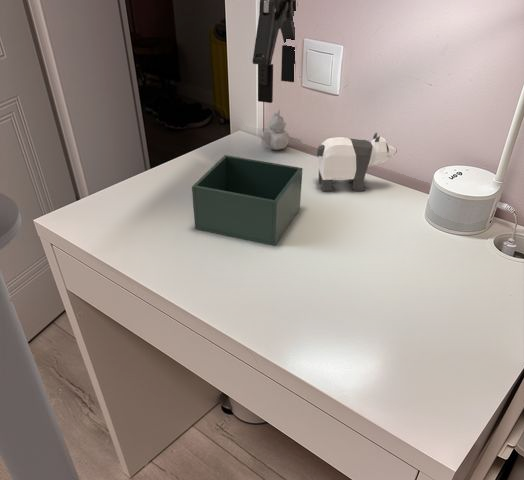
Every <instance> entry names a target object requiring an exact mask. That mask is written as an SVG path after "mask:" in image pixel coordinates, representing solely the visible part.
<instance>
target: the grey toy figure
mask: <svg viewBox="0 0 524 480" xmlns="http://www.w3.org/2000/svg"><path fill="white" fill-rule="evenodd" d="M286 125H287V122H285V120H284V117H283V116H281V115H280V110H278V111H277V112H275V113H274V114H273V115H272V116H271V118H270V119H269V124H268V128H269V129H267V130H266V131H261V132H260V133H259V137H260V139H261V140H260V145H262V146H268V147H269V148H270V149H272V150H274V151H277V150H278V151H279V150H283V149H285V148H286V147H287V146H288V144H289V142H290V134H289V133H288V132H287V131H286Z"/></svg>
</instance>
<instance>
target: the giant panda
mask: <svg viewBox="0 0 524 480" xmlns="http://www.w3.org/2000/svg"><path fill="white" fill-rule="evenodd" d="M316 151H317V152H316V156H317V157H318V183H319V184H321V187H320V188H321V190H322V191H323V192H333V191H334V192H335V189H336V188H335V186H334V185H333V184H332V183H333V181H334V180H335V181H336V180H337V181H345V180H348V182H349V183H352V190H353V191H356V192H357V191H359V192H360V191H361V192H362V191H366V190H367V187H366V185H364V182H365V177H366V174H367V171H368V168H369V167H371V166H375V165H380V164H383V163H384V162H386V161H387V160H388V159H390V158H393V156H395V155H396V154H397V151H398V149H397V148H396V147H393V146H392V145H390V144H388V142H387V140H386V138H384V136H380V135H379V136H378V132H375V133H374V134H373V138H372V140H370V141H369V140H366V139H357V138H349V137H342V136H338V137H330V138H327V139H325V140H324V141H323V142H322V143H321V144H320V145H319V146H318V148H317V150H316Z"/></svg>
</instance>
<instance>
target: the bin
mask: <svg viewBox="0 0 524 480" xmlns="http://www.w3.org/2000/svg"><path fill="white" fill-rule="evenodd" d="M303 170H304V169H303V167H299V166H292V165H287V164H280V163H275V162H270V161H263V160H258V159H252V158H246V157H241V156H240V157H239V156H235V155H234V156H233V155H227V154H224V155H223V156H222V157H221V158H220V159H219V160H218V161H217V162H216V163H215V164H214V165H213V166H211V167H210V169H209V170H207V171H206V172H204V174H203V175H202V176H201V177H200V178H199V179H197V181H196V182H195V183H193V185H191V193H192V194H191V195H192V207H193V219H194V220H193V221H194V229H195V230H200V231H204V232H209V233H214V234H218V235H222V236H227V237H232V238H233V237H234V238H238V239H243V240H246V241H251V242H257V243H261V244H266V245H272V246H276V245H277V244H278V242H279V241H280V239H281V238H282V236H283V235H284V233H286V230H287V229H288V228H289V226H290V224H291V223H292V221H293V220H294V218H295V217H296V216H297V214H298V213H299V211H300V209H301V199H302V198H301V197H302V185H303V184H302V182H303Z"/></svg>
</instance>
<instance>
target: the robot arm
mask: <svg viewBox="0 0 524 480" xmlns="http://www.w3.org/2000/svg"><path fill="white" fill-rule="evenodd" d="M294 11H296V0H259V12H258V13H259V14H258V21H257V28H256V35H255V36H256V37H255V42H254V48H253V55H252V56H253V57H252V64H253V65H257V102H261V103H268V104H272V103H273V101H274V100H273V99H274V63H273V62H272V60H273V57H274V53H275V48H276V44H277V39H278V36H279V30H280V33H281V36H282V40H283V44H282V45H281V70H280V71H281V72H280V73H281V74H280V82H287V83H295V81H294V64H295V65H296V61H295V51H294V50H295V47H292V46H287V45H286V44H284V43H285V42H286V39H291V40H295V27H294V22H293V16H294Z"/></svg>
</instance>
